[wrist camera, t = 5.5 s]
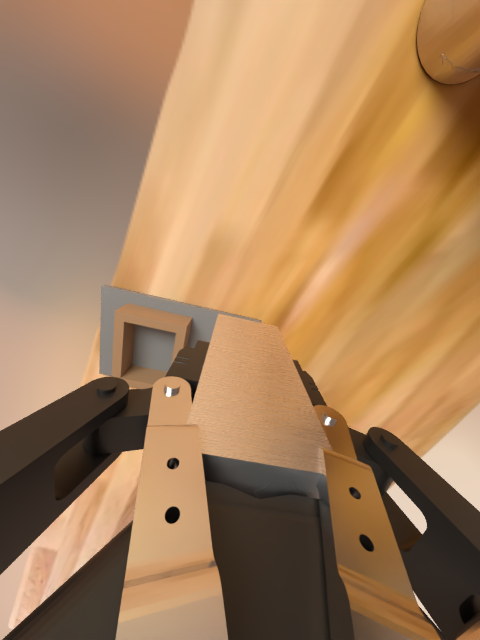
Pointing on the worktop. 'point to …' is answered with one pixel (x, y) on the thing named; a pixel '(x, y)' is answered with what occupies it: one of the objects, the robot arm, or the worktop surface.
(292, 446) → the block
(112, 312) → the board
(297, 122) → the worktop surface
